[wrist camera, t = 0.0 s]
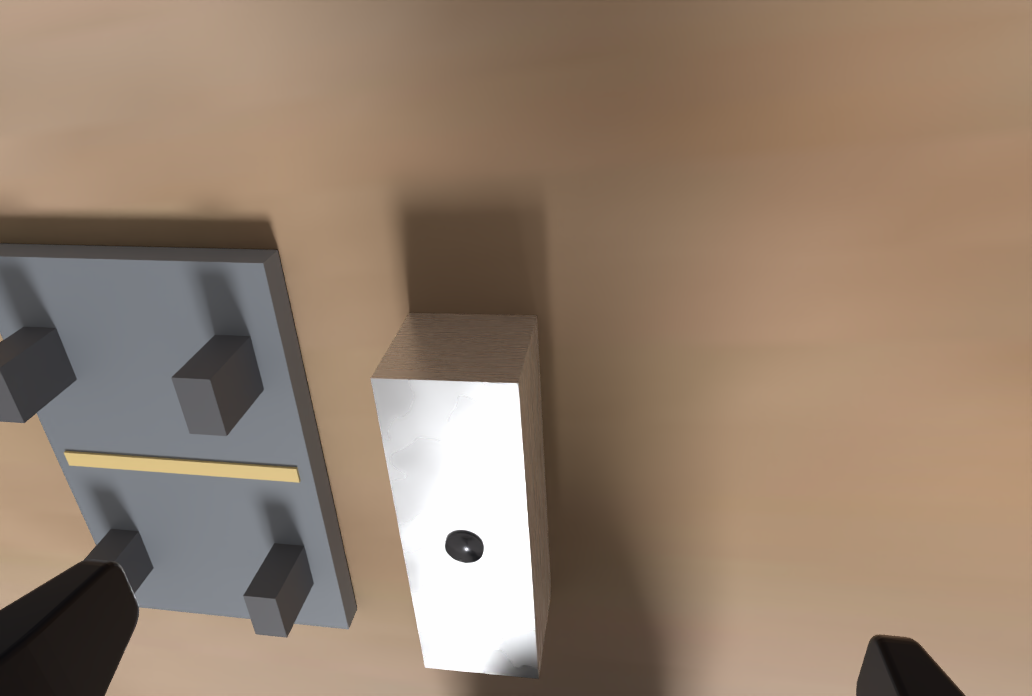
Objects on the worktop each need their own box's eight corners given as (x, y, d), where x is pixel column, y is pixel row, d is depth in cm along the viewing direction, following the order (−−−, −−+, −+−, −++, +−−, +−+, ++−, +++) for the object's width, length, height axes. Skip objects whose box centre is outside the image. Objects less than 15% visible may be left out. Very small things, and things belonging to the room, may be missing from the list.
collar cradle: (357, 609, 31) (325, 684, 28) (137, 587, 32) (85, 656, 29) (277, 249, 23) (221, 301, 20) (-11, 243, 24) (-104, 290, 21)
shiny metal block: (551, 587, 29) (538, 681, 25) (451, 579, 29) (424, 669, 26) (537, 311, 23) (517, 385, 19) (411, 309, 23) (369, 380, 20)
